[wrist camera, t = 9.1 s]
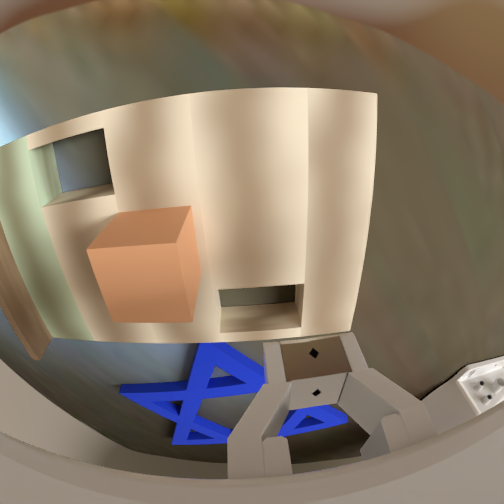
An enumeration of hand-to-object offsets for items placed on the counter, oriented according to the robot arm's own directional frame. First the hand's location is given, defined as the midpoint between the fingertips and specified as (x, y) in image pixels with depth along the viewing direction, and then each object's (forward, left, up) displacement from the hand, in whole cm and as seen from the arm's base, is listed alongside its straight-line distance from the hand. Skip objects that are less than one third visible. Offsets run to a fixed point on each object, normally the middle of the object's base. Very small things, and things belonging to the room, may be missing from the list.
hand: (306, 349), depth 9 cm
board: (+7, 0, -12) cm, 14 cm away
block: (+7, 0, -9) cm, 11 cm away
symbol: (+4, +25, -13) cm, 28 cm away
